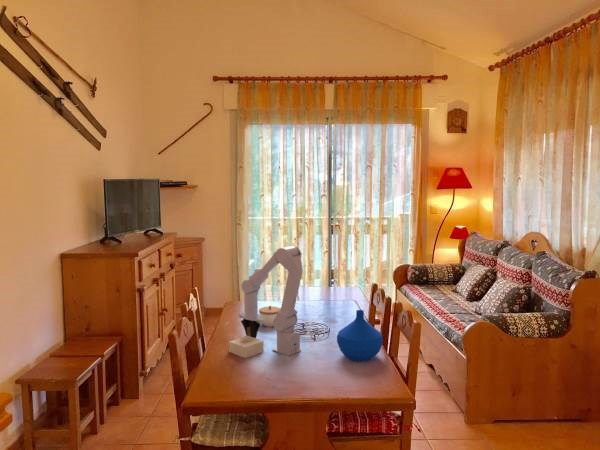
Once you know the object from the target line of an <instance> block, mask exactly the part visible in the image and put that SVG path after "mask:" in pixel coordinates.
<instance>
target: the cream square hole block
mask: <svg viewBox="0 0 600 450" xmlns="http://www.w3.org/2000/svg"><path fill="white" fill-rule="evenodd" d="M228 344H229V349H228V350H229V353H231V354H234V355H236V356H239V357H242V358H243V359H247V358H249V357H252V356H255V355H257V354H261V353H263V352H264V340H261V339H258V338H257V337H256V338H253V337H250V336H246V335H245V336H243V337H239V338H236V339H233V340H230V341H229V342H228Z"/></svg>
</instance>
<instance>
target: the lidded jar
mask: <svg viewBox="0 0 600 450" xmlns="http://www.w3.org/2000/svg"><path fill="white" fill-rule="evenodd" d="M280 308H281V307H278V306H272V305H268V306H263V307H261V308H259V309H258V312H259V313H258V314H259V317H261V318H263V319H264V323H263V324H262V325H264V326H265V327H270V328H271V327H274V325H273V320H274V319H275V317H276V315H277V312H278V311H279V310H280Z"/></svg>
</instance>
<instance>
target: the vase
mask: <svg viewBox="0 0 600 450" xmlns="http://www.w3.org/2000/svg"><path fill="white" fill-rule="evenodd" d="M364 312H365V311H364V310H363V309H356V313H355V314H356V315H355V319H354V320H352V322H350V323H349V324H348V325H346V326H344V327H343V328H341V329H340V330H338V333H337V335H336V342H337V345H338V347H339V351H341V353H342V354H343V356H345V357H346V358H347V360H348V359H349V360H350V361H354V362H361V363H363V362H368V361H371V360H372V359H374V358H375V357H377V355H378V354H379V352H380V351H381V349H382V346H383V339H384V338H383V335H382V333H381V332H380V331H379V330H378V329H376V328H375V327H374V326H372V325H371V324H370V323H369V322H368V321H367V320H366V319H365V316H364V315H365V314H364Z"/></svg>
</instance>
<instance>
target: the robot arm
mask: <svg viewBox="0 0 600 450" xmlns="http://www.w3.org/2000/svg"><path fill="white" fill-rule="evenodd" d="M302 255H303V253H302V252H301V250H300V248H299V247H298V246H296V245H290V246H286V247H280V248H278V249H277V250H276V251H274V252H273V254H272V256H271V257H270V258H269V260H268V261H267V262H266V263H265V264H264V265H263V266H262V267H259V268H258V267H257V268H255V269H254V272H253V273H252V274H251V275H249V276H248V279H245V280H243V281H242V283H241V285H240V287H241V290H242V292H243V296H244V298H243V299H244V300H243V301H244V304H243V306H244V312H239V313H238V318H239V319H242V320H240V322H241V324H242V326H243V328H244V332H245V336H247V327H249V326H250V328H251V336H252V337H253V338H255V337H256V338H257V335H258V331H259V329H260V326H261V325H264V324H263V323H264V319H263V318H261V317H260V316H259V313H258V312H259V309H258V304H259V303H258V295H259V291H260V289H261V285H262V284H263V283H265V281H266V280H268V278H269V273H271V272H272V270H274V268H276V267H278V265H279V264H280V265H281V266H282V267H283V268H284V269H285V270H287V272H288V274H287V278H286V282H285V283H286V284H285V288H284V292H283V298H282V303H281V306H280V307H279V308H280V310H279V311H278V312H277V315H276V317H275V319H274V320H273V325H274V326H273V328H274V329H275V331H276V347H275V348H274V347H273V348H272V351H273V352H276V353H279V354H282V355H285V356H289V357H290V356H292V355H294V354H297V353H298V352H301V351H302V350H301V347H300V346H301V344H300V343H301V341H300V339H301V336H300V334H299V333H298V332H296V331H295V326H296V325H297V323H298V315H297V314H298V311H297V310H296V309H295V307H296V302H297V298H298V293H299V289H300V285H301V284H300V283H301V280H302V275H303V263H302Z"/></svg>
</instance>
